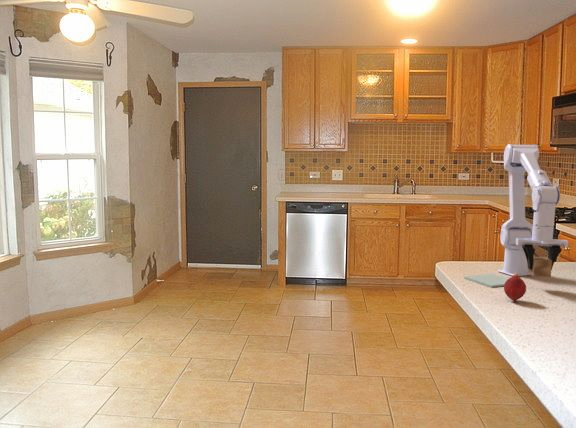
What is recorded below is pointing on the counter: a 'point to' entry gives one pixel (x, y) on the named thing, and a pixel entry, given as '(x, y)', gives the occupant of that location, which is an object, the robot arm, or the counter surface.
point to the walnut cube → (541, 267)
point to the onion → (515, 287)
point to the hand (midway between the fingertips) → (539, 269)
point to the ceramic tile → (488, 280)
